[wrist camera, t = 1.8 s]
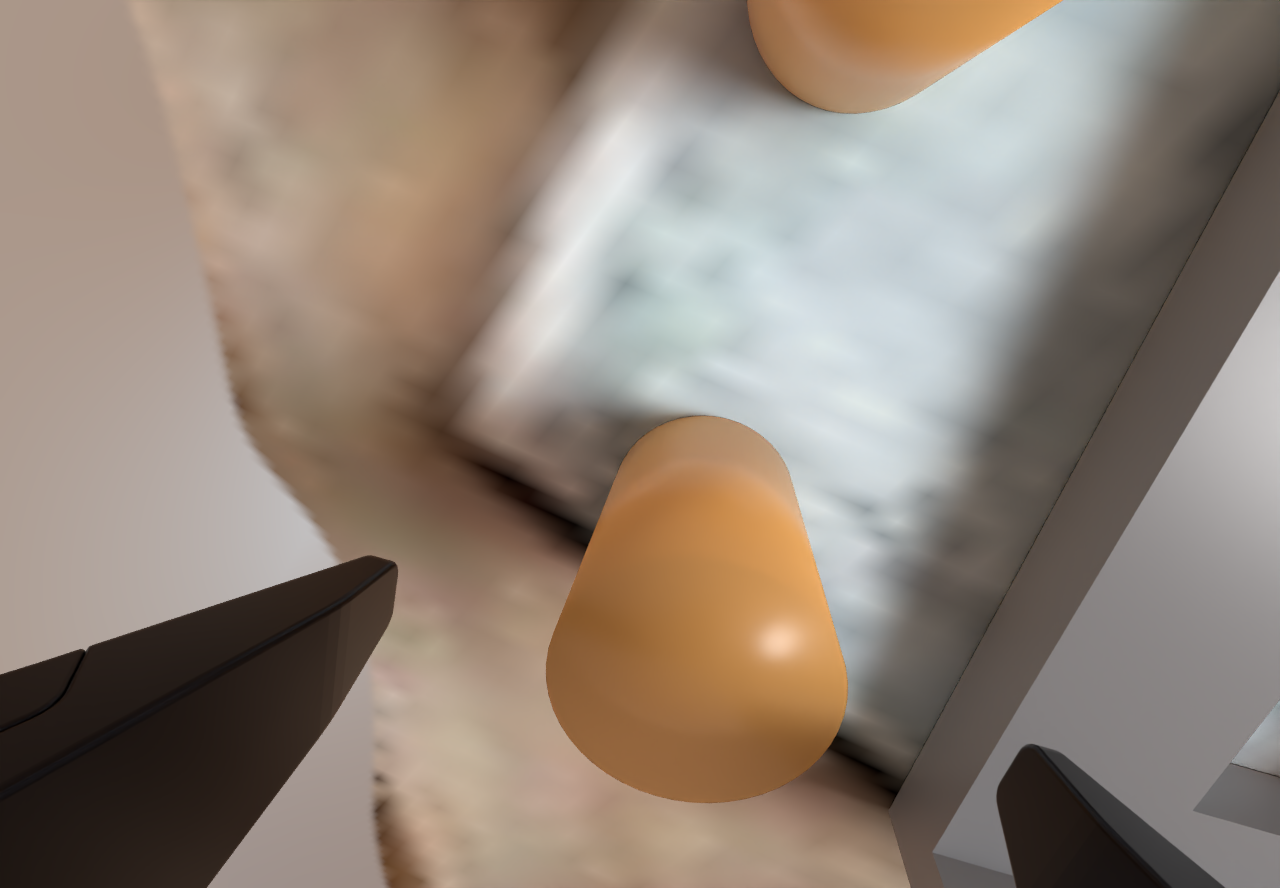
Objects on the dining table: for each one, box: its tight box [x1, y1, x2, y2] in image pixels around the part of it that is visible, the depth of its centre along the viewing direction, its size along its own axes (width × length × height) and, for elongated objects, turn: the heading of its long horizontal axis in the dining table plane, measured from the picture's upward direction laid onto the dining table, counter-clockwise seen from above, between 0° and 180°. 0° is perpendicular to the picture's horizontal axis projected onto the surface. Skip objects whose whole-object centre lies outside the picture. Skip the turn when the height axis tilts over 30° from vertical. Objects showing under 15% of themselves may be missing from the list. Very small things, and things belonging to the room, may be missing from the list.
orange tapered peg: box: [546, 416, 848, 803], centre depth 11 cm, size 4×4×6 cm
